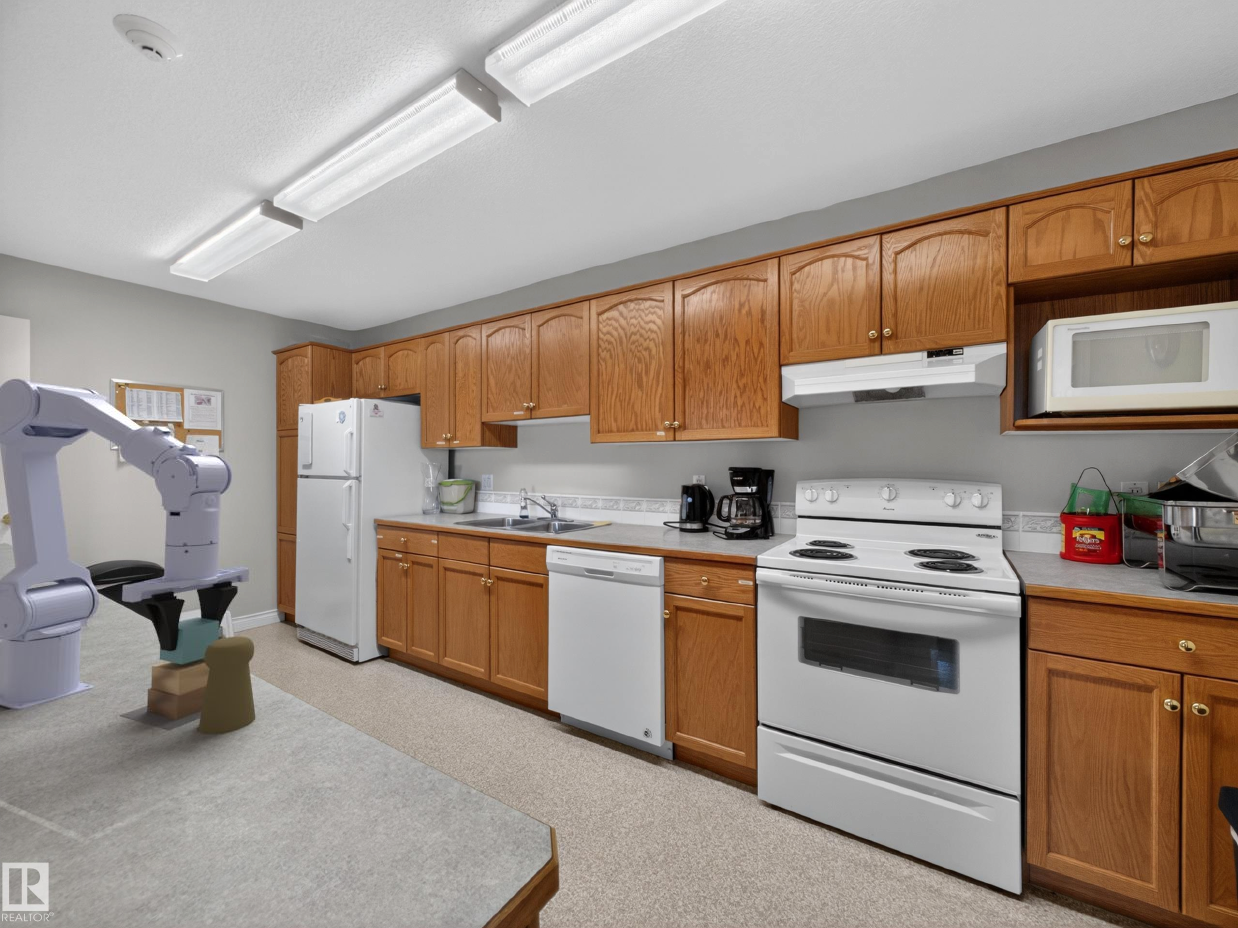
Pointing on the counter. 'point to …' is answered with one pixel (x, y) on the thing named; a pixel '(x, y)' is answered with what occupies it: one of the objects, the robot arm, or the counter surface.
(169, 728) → the coaster mat
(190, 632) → the teal block
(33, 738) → the counter surface
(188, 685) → the oak top block
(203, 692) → the walnut base block
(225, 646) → the cork
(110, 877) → the counter surface
